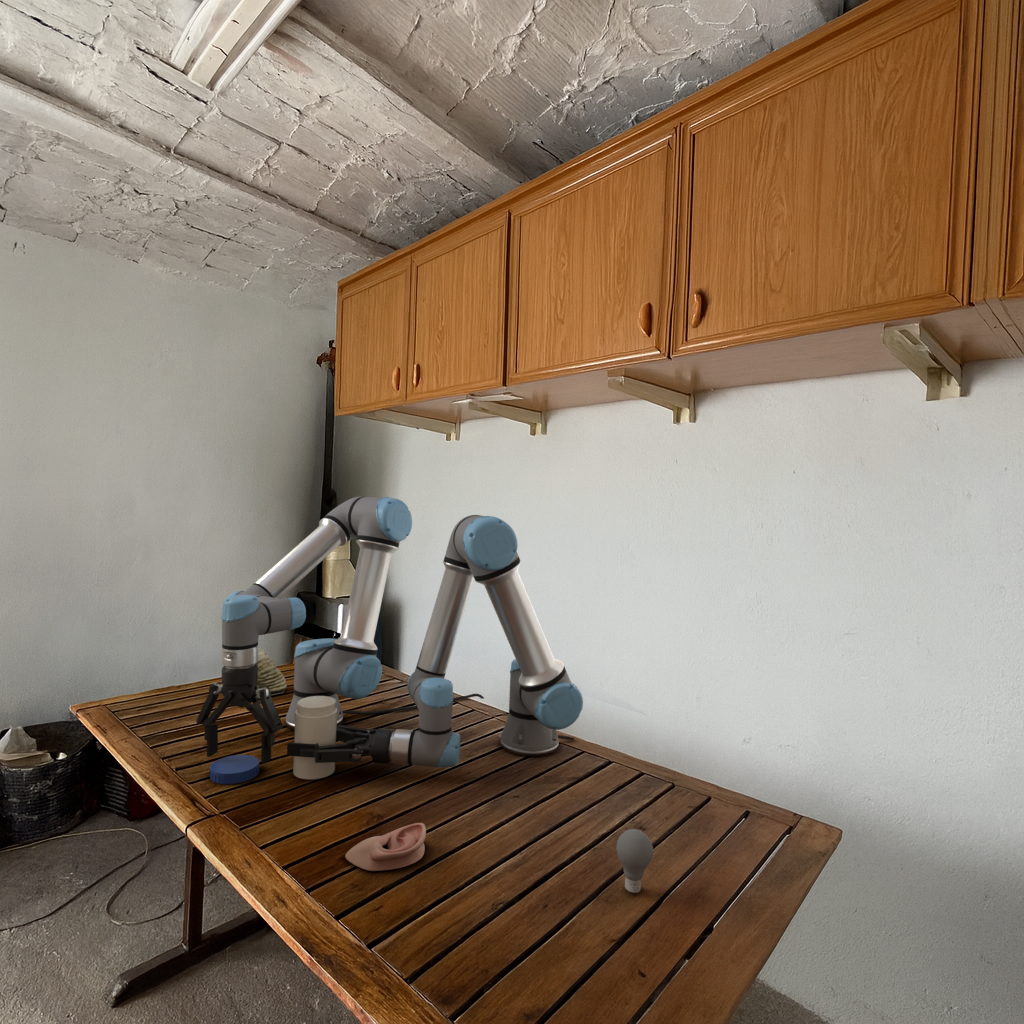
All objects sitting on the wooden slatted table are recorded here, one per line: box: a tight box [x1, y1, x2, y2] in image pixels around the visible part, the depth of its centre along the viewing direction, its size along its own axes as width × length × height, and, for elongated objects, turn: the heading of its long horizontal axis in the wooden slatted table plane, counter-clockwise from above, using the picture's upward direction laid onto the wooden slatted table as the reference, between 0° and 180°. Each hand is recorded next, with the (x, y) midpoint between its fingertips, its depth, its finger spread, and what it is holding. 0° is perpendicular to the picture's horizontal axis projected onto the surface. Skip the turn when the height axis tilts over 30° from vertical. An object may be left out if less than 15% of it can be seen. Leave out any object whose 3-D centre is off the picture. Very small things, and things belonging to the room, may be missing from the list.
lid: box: [209, 754, 260, 785], centre depth 143 cm, size 10×10×2 cm
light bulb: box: [615, 828, 654, 894], centre depth 106 cm, size 6×6×10 cm
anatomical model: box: [344, 822, 427, 872], centre depth 113 cm, size 13×4×12 cm
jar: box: [292, 696, 338, 780], centre depth 146 cm, size 9×9×16 cm
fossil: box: [256, 647, 288, 698], centre depth 198 cm, size 9×18×15 cm, turn 132°
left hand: (239, 757), depth 143 cm, fingers open, 13 cm apart
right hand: (296, 740), depth 146 cm, fingers closed on jar, 9 cm apart
